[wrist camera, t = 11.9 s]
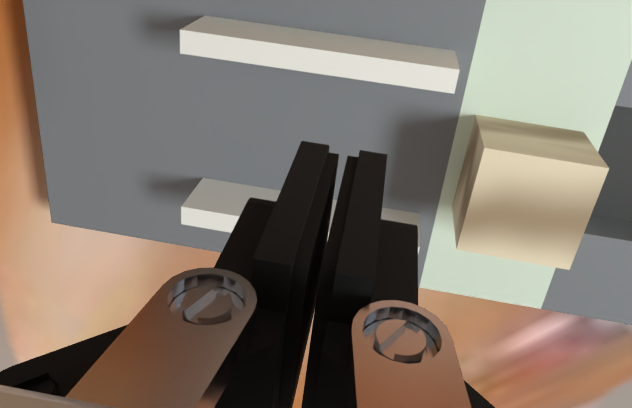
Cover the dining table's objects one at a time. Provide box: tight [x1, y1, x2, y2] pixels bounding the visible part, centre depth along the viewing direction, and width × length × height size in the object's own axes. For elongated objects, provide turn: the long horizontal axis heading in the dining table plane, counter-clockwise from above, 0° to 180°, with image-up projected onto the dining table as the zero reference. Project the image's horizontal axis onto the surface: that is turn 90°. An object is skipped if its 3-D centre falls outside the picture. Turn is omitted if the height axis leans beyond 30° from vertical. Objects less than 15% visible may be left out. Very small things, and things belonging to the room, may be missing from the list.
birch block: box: [452, 115, 609, 270], centre depth 32 cm, size 6×6×5 cm
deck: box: [23, 0, 632, 325], centre depth 34 cm, size 20×45×7 cm, turn 84°
